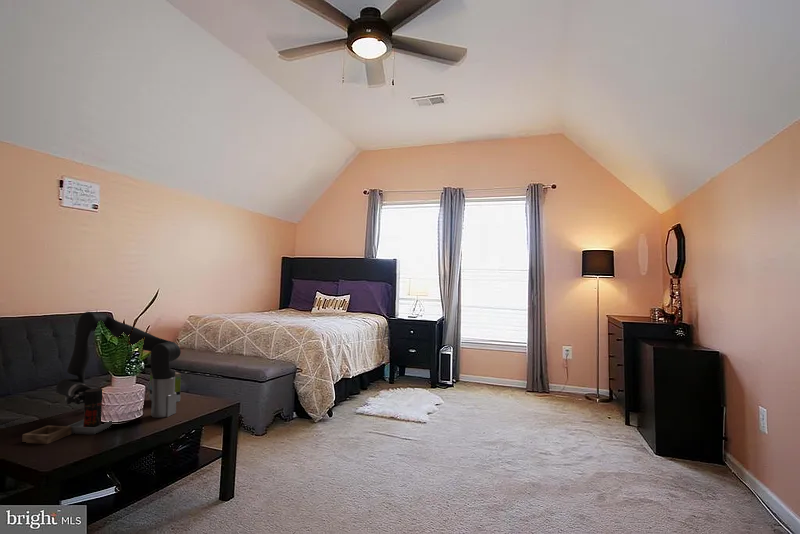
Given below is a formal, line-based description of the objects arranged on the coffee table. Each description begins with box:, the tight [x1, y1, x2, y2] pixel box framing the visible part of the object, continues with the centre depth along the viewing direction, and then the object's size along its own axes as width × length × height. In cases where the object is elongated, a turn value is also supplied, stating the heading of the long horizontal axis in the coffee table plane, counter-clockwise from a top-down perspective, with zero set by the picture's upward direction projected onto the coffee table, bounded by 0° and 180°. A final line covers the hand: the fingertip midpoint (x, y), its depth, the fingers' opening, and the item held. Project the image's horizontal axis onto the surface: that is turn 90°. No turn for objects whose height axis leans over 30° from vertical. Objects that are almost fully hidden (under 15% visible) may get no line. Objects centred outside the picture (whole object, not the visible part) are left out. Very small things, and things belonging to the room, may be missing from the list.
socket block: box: [21, 425, 72, 445], centre depth 164 cm, size 10×10×3 cm
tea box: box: [148, 371, 182, 403], centre depth 218 cm, size 15×10×15 cm, turn 50°
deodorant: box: [83, 387, 103, 427], centre depth 176 cm, size 6×6×15 cm
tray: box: [67, 419, 112, 435], centre depth 176 cm, size 13×13×2 cm
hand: (91, 399), depth 178 cm, fingers open, 8 cm apart
